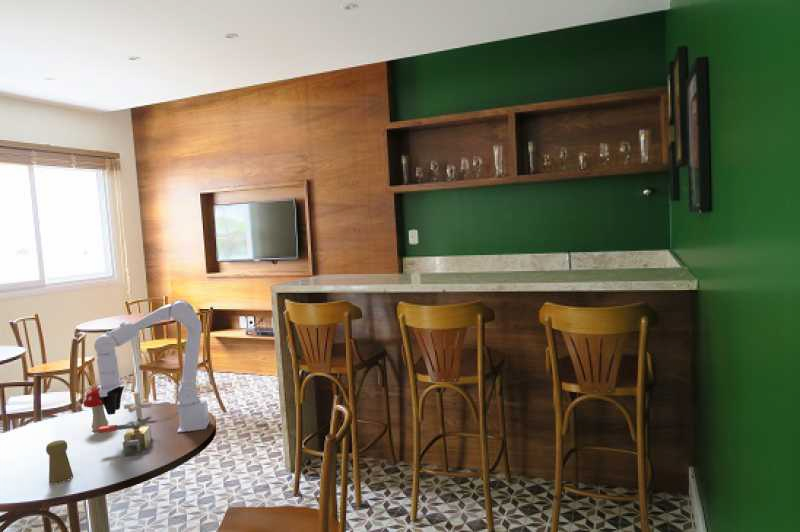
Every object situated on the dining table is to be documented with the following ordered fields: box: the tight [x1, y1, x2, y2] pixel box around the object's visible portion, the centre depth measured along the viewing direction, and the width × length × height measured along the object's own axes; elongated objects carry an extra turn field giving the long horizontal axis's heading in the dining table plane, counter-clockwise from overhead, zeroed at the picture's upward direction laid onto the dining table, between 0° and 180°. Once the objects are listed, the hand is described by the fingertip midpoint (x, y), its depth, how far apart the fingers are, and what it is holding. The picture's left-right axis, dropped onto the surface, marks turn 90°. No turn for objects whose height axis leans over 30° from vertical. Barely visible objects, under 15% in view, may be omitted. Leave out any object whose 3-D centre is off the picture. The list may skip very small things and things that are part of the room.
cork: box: [45, 439, 74, 484], centre depth 162 cm, size 6×6×11 cm
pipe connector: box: [123, 391, 153, 420], centre depth 211 cm, size 10×10×10 cm
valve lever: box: [97, 421, 142, 434], centre depth 182 cm, size 12×3×1 cm, turn 99°
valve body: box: [122, 424, 153, 457], centre depth 183 cm, size 6×14×6 cm, turn 9°
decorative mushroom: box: [83, 386, 109, 432], centre depth 204 cm, size 10×9×15 cm
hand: (113, 411), depth 188 cm, fingers open, 4 cm apart
